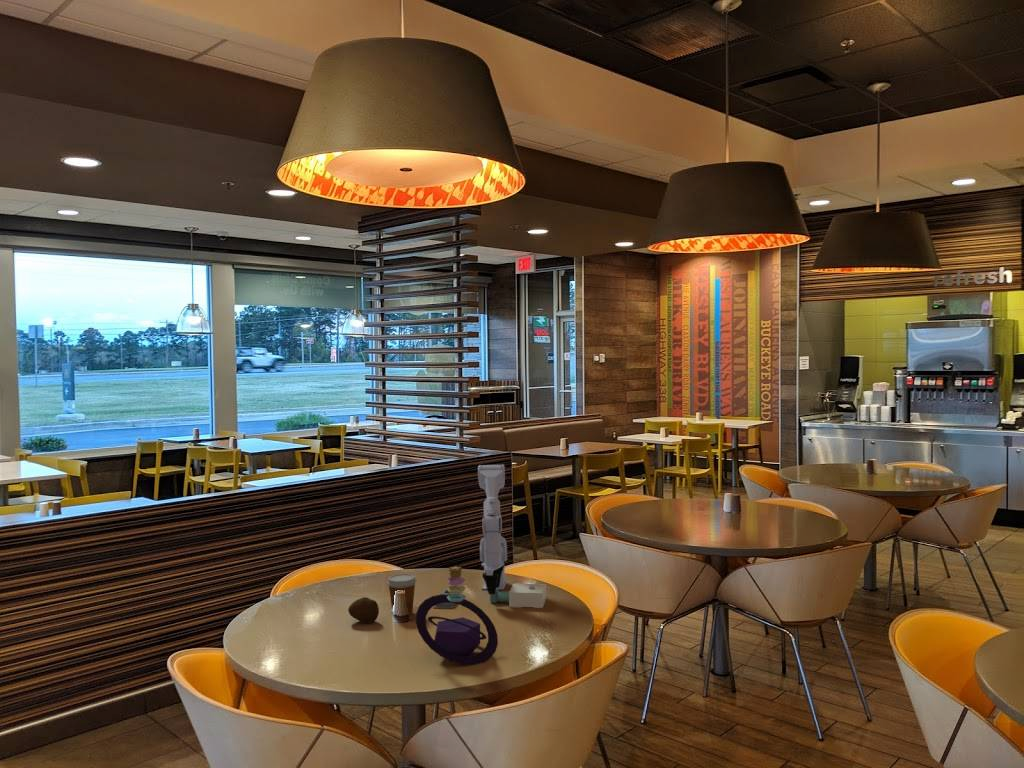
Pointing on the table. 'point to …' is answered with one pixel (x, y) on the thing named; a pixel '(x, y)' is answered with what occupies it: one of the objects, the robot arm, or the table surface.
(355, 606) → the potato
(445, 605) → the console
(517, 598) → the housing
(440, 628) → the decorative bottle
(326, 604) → the table surface
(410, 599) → the disposable coffee cup
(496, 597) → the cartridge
